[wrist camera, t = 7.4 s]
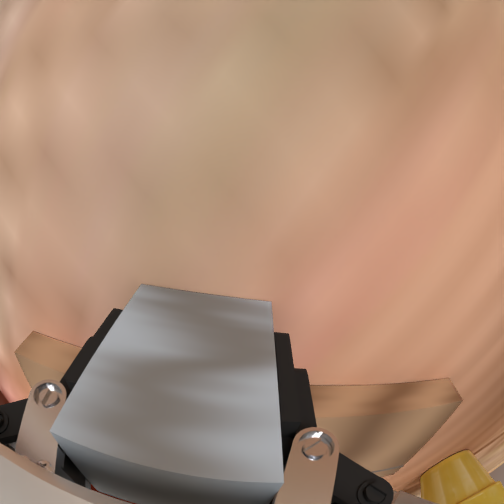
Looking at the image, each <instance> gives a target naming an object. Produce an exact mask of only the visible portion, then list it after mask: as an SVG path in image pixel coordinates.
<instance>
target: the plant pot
mask: <svg viewBox="0 0 504 504" xmlns="http://www.w3.org/2000/svg"><path fill="white" fill-rule="evenodd" d="M420 484H421V498H423V499H426V500H429V501H432V502H435V503H438V504H504V488H503V486H502V484H501V482H500V481H498V482H495V481H494V480H493V479H492V478H491V476H490V475H489V474H488V473H487V471H486V470H485V469H484V467H483V466H482V465H481V464H480V462H479V461H478V460H477V459H476V457H475V456H474V455H473V454H472V452H471V451H470V450H464V451H461V452H458V453H456V454H454V455H452V456H450V457H448V458H446V459H444V460H443V461H441V462H439V463H438V464H436V465H435V466H433V467H432V468H430V469H429V470H427V471H426V472H425V473H424V474H423V475H422V476H421V478H420Z"/></svg>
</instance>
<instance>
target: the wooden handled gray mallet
mask: <svg viewBox="0 0 504 504" xmlns="http://www.w3.org/2000/svg"><path fill="white" fill-rule="evenodd" d="M50 433H51V434H52V436H53V437H54V438H55V440H56V441H57V442H58V444H59V445H60V447H61V448H62V449H63V451H64V452H65V453H66V454H67V456H68V457H69V458H70V459H71V461H72V462H73V463H74V464H75V466H76V467H77V468H78V469H79V470H80V472H81V473H82V474H83V475H84V476H85V477H86V478H87V480H88V481H89V482H90V483H91V484H92V485H93V486H94V487H95V488H96V489H97V490H98V491H100V492H103V493H105V494H108V495H111V496H114V497H117V498H120V499H124V500H127V501H130V502H133V503H137V504H269V503H270V502H271V500H272V499H273V498H274V496H275V495H276V494H277V492H278V491H279V489H280V488H281V486H282V485H283V483H284V473H283V456H282V439H281V424H280V409H279V394H278V380H277V367H276V354H275V341H274V328H273V316H272V304H271V302H269V301H260V300H251V299H243V298H235V297H227V296H219V295H211V294H204V293H197V292H190V291H183V290H176V289H170V288H163V287H157V286H151V285H145V284H141V285H140V287H139V288H138V290H137V291H136V292H135V294H134V295H133V297H132V298H131V300H130V301H129V302H128V304H127V305H126V307H125V308H124V310H123V311H122V313H121V314H120V315H119V317H118V318H117V320H116V321H115V323H114V324H113V326H112V327H111V329H110V330H109V332H108V333H107V335H106V336H105V338H104V340H103V341H102V343H101V344H100V346H99V347H98V349H97V350H96V352H95V354H94V355H93V357H92V358H91V360H90V362H89V363H88V365H87V366H86V368H85V370H84V371H83V373H82V375H81V376H80V378H79V380H78V381H77V383H76V385H75V386H74V388H73V390H72V391H71V393H70V395H69V397H68V398H67V400H66V402H65V404H64V405H63V407H62V409H61V411H60V412H59V414H58V416H57V418H56V420H55V422H54V423H53V425H52V427H51V429H50Z"/></svg>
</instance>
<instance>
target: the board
mask: <svg viewBox="0 0 504 504" xmlns="http://www.w3.org/2000/svg"><path fill="white" fill-rule="evenodd" d="M81 349H82V348H81V347H78V346H74V345H71V344H68V343H65V342H62V341H59V340H56V339H54V338H51V337H48V336H45V335H42V334H40V333H37V332H34V331H33V332H32V333H31V334H30V335H29V336H28V337H27V338H26V339H25V341H24V342H23V343H22V344H21V345H20V346H19V347H18V349H17V350H16V351H15V355H16V357H17V359H18V361H19V364H20V366H21V368H22V370H23V372H24V374H25V376H26V378H27V380H28V382H29V384H30V386H31V388H32V387H33V386H34V385H35V384H36V383H38V382H40V381H42V380H46V379H52V380H56V381H58V382H60V380H61V379H62V377H63V376H64V374H65V373H66V371H67V370H68V368H69V367H70V365H71V364H72V362H73V361H74V359H75V358H76V356H77V355H78V353H79V352H80V350H81ZM310 390H311V395H312V401H313V406H314V412H315V418H316V424H317V427H319V428H323V429H326V430H328V431H329V432H331V433H333V435H334V436H335V437H336V438H337V440H338V442H339V452H340V453H341V454H343V455H345V456H346V457H348V458H349V459H351V460H352V461H354V462H356V463H357V464H359V465H361V466H362V467H364V468H366V469H367V470H369V471H371V472H372V473H374V474H376V475H378V476H379V477H384V476H389V475H393V474H394V473H395V472H397V471H398V470H399V469H400V468H401V467H403V466H404V464H405V463H407V462H408V461H409V460H410V459H411V458H412V457H413V456H414V455H415V454H416V453H417V452H418V451H419V450H420V449H421V448H422V447H423V446H424V445H425V444H426V443H427V442H428V441H429V440H430V439H431V437H432V436H433V435H434V434H435V433H436V432H437V431H438V430H439V429H440V428H441V426H442V425H443V424H444V423H445V422H446V421H447V419H448V418H449V417H450V416H451V415H452V413H453V412H454V411H455V410H456V408H457V407H458V406H459V405H460V403H461V402H462V401H463V400H462V398H461V396H460V395H459V393H458V391H457V390H456V388H455V387H454V385H453V383H452V382H451V380H450V379H449V378H445V379H438V380H429V381H420V382H410V383H398V384H382V385H355V386H320V385H310Z"/></svg>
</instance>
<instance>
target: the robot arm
mask: <svg viewBox="0 0 504 504" xmlns="http://www.w3.org/2000/svg"><path fill="white" fill-rule="evenodd" d="M122 311H123V310H121V309H116V308H114V309H113V310H112V311H111V312H110V314H109V315H108V317H107V318H106V319H105V321H104V322H103V324H102V325H101V326H100V328H99V329H98V331H97V332H96V333H95V335H94V336H92V337H90V338H89V339H88V340H87V342H86V343H85V345H84V346H83V347H82V349H81V350H80V352H79V353H78V355H77V356H76V358H75V359H74V361H73V362H72V364H71V365H70V367H69V368H68V370H67V371H66V373H65V374H64V376H63V377H62V379H61V380H60V382H58V381H56V380H52V379H46V380H42V381H40V382H38V383H36V384H35V385H34V386H33V387H32V389H31V391H30V394H29V397H28V398H27V399H24V400H20V401H16V402H12V403H8V404H5V405H0V504H131V503H128V502H124V501H121V500H118V499H115V498H112V497H109V496H106V495H103V494H101V493H98V492H95V491H92V490H91V487H90V485H91V483H90V482H89V481H88V480H87V478H86V477H85V476H84V475H83V474H82V473H81V472H80V470H79V469H78V468H77V467H76V466H75V464H74V463H73V462H72V461H71V459H70V458H69V457H68V456H67V454H66V453H65V452H64V451H63V449H62V448H61V447H60V445H59V444H58V442H57V441H56V440H55V438H54V437H53V436H52V434H51V433H50V429H51V427H52V425H53V423H54V422H55V420H56V418H57V416H58V414H59V412H60V411H61V409H62V407H63V405H64V404H65V402H66V400H67V398H68V397H69V395H70V393H71V391H72V390H73V388H74V386H75V385H76V383H77V381H78V380H79V378H80V376H81V375H82V373H83V371H84V370H85V368H86V366H87V365H88V363H89V362H90V360H91V358H92V357H93V355H94V354H95V352H96V350H97V349H98V347H99V346H100V344H101V343H102V341H103V340H104V338H105V336H106V335H107V333H108V332H109V330H110V329H111V327H112V326H113V324H114V323H115V321H116V320H117V318H118V317H119V315H120V314H121V313H122ZM274 341H275V354H276V367H277V380H278V394H279V409H280V424H281V439H282V456H283V473H284V483H283V485H282V486H281V488H280V489H279V491H278V492H277V494H276V495H275V496H274V498H273V499H272V500H271V502H270V503H269V504H438V503H435V502H432V501H429V500H426V499H423V498H420V497H417V496H414V495H411V494H409V493H406V492H403V491H401V490H400V491H399V492H396V491H394V490H393V489H392V487H391V485H390V484H389V483H388V482H387V481H386V480H385V479H383V478H381V477H379V476H378V475H376V474H374V473H372V472H371V471H369V470H367V469H366V468H364V467H362V466H361V465H359V464H357V463H356V462H354V461H352V460H351V459H349V458H348V457H346V456H345V455H343V454H341V453H340V452H339V442H338V440H337V438H336V437H335V436H334V435H333V433H331V432H329V431H328V430H326V429H323V428H319V427H317V424H316V418H315V412H314V406H313V401H312V395H311V390H310V384H309V379H308V374H307V370H306V369H297V368H294V364H293V357H292V350H291V344H290V337H289V334H288V333H277V332H274Z"/></svg>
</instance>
